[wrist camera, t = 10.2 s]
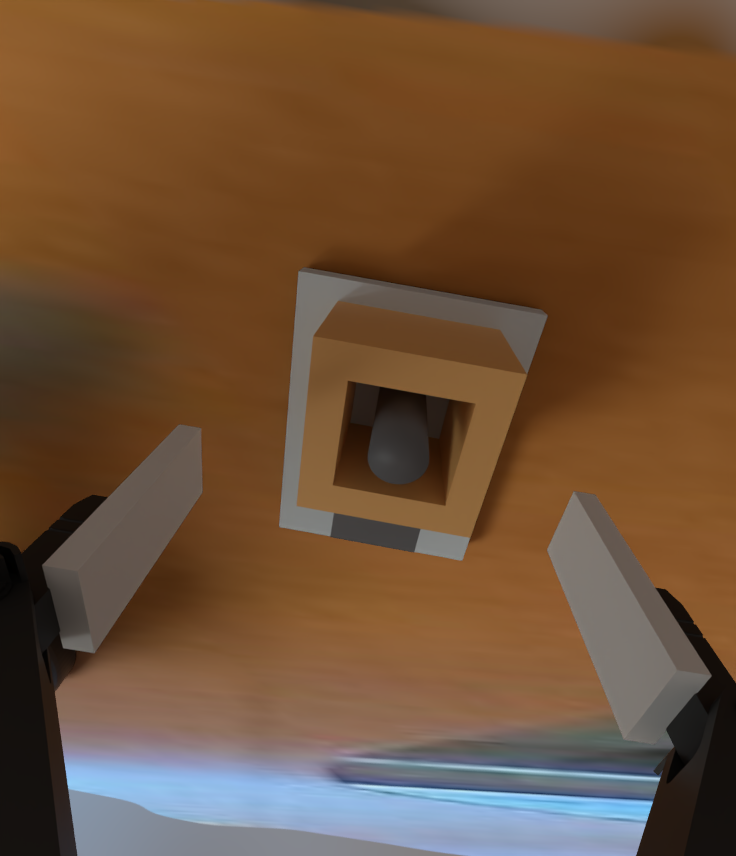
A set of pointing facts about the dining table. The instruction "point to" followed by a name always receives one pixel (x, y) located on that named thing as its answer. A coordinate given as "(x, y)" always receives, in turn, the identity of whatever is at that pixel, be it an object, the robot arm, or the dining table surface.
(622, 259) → the dining table surface
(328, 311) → the keeper board
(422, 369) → the link
